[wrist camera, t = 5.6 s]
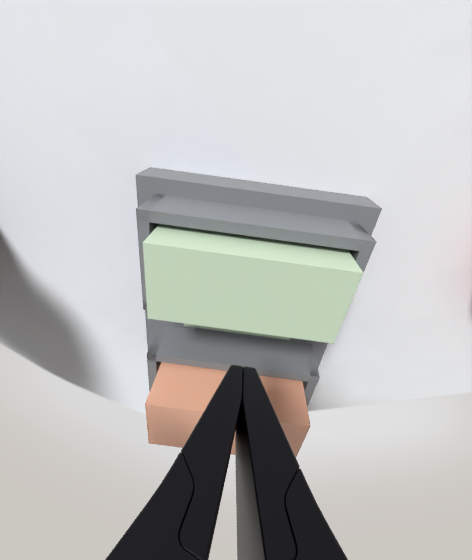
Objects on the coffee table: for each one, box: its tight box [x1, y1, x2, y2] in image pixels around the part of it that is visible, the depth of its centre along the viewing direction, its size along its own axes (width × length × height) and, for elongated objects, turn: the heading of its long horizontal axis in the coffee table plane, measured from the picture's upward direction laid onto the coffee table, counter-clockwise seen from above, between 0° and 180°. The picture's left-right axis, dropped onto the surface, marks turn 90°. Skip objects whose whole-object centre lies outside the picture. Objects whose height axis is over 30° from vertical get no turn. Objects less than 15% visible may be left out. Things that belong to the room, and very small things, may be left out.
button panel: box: [136, 167, 382, 406], centre depth 20 cm, size 14×18×6 cm
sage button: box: [143, 224, 363, 344], centre depth 15 cm, size 10×4×4 cm, turn 83°
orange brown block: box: [145, 362, 310, 457], centre depth 19 cm, size 10×4×4 cm, turn 83°
